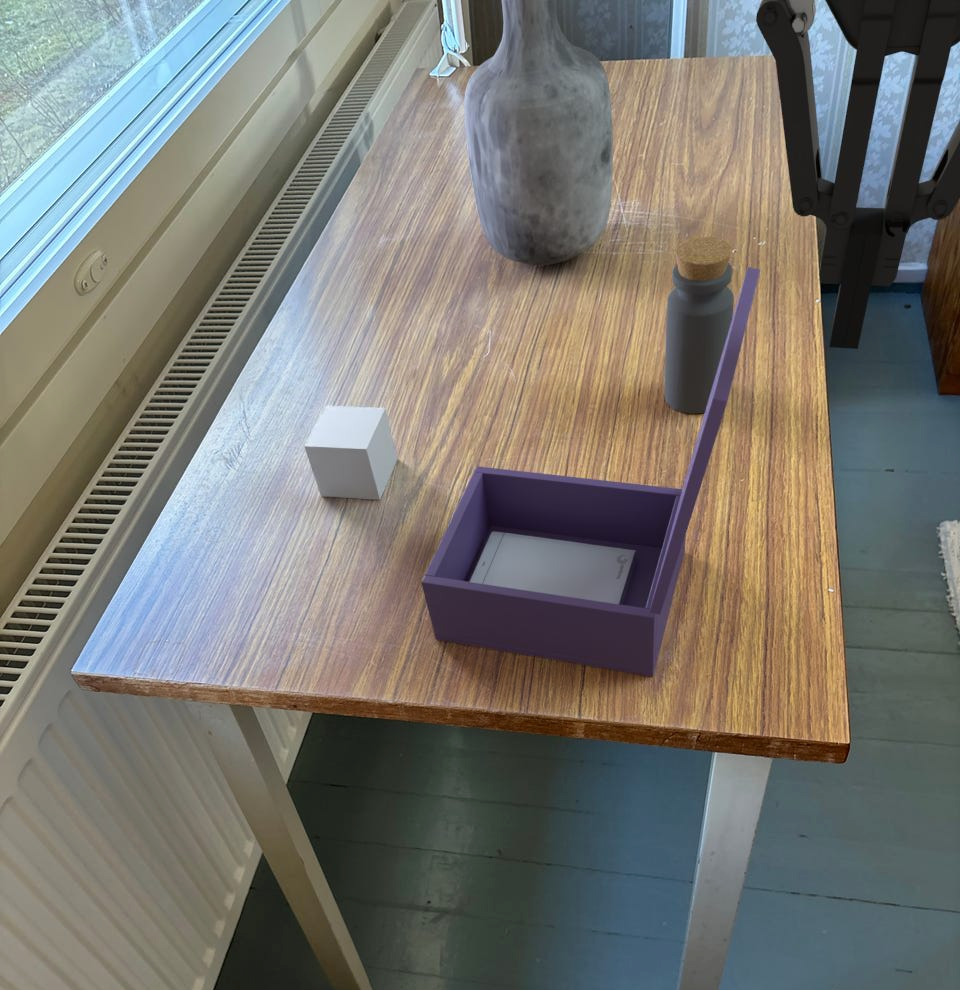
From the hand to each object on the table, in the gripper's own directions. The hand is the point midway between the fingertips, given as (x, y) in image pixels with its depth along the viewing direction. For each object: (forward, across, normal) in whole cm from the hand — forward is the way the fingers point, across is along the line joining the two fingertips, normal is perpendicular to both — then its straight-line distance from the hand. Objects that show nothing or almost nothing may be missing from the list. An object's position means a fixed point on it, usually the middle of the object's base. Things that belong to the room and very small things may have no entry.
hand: (845, 333), depth 52 cm
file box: (+26, +18, 0) cm, 31 cm away
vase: (+26, +34, -54) cm, 69 cm away
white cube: (+26, +41, -11) cm, 49 cm away
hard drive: (+25, +19, 0) cm, 31 cm away
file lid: (+9, +8, 0) cm, 12 cm away
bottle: (+26, +12, -28) cm, 40 cm away
